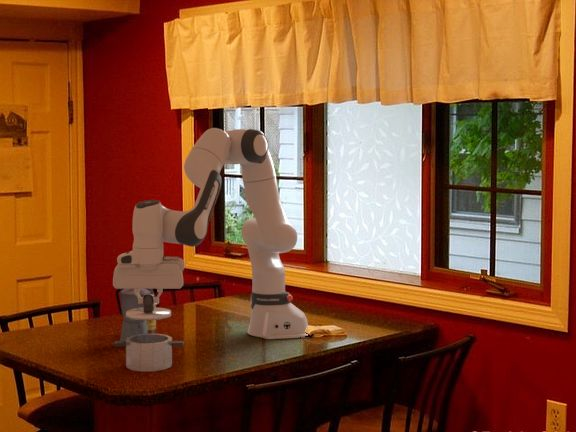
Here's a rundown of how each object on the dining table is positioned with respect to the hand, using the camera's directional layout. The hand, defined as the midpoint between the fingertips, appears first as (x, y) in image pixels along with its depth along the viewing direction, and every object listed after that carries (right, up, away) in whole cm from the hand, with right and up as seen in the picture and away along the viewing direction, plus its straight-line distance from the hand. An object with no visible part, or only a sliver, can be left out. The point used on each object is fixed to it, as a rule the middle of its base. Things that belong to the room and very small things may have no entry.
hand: (148, 303), depth 274 cm
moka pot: (-9, -16, +28) cm, 34 cm away
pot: (0, -18, +2) cm, 18 cm away
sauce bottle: (-7, -14, +42) cm, 45 cm away
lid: (0, -4, 0) cm, 4 cm away
